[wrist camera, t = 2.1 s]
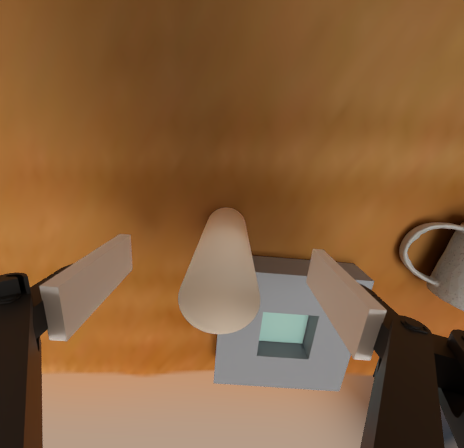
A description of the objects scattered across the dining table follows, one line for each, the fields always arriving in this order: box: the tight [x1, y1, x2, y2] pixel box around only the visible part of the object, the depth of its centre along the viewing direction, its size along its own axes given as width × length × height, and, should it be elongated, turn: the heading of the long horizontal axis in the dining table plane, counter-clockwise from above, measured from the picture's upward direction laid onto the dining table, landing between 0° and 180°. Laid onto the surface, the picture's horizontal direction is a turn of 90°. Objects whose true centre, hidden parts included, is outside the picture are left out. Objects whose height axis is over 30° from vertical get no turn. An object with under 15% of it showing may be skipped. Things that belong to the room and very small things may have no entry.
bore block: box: [214, 256, 374, 391], centre depth 23 cm, size 14×14×4 cm
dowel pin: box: [178, 207, 260, 334], centre depth 16 cm, size 4×4×12 cm
